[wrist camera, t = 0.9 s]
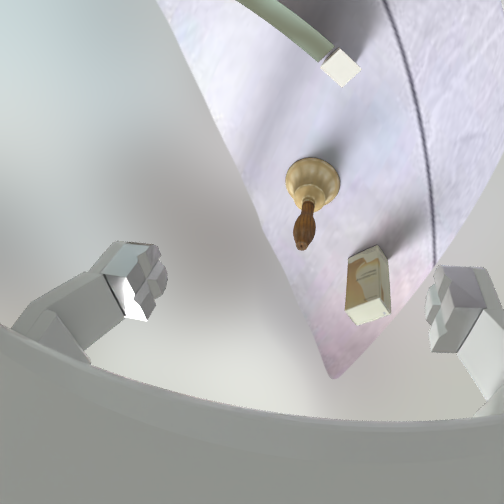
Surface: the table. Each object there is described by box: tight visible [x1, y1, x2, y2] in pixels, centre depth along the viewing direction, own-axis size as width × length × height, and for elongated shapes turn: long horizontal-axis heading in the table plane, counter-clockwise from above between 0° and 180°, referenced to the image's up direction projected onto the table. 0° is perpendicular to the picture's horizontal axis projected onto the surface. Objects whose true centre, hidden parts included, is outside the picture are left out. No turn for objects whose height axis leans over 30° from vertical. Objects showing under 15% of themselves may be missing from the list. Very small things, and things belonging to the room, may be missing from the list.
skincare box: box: [345, 245, 391, 326], centre depth 48 cm, size 6×4×12 cm
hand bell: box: [285, 158, 340, 250], centre depth 40 cm, size 8×8×16 cm
